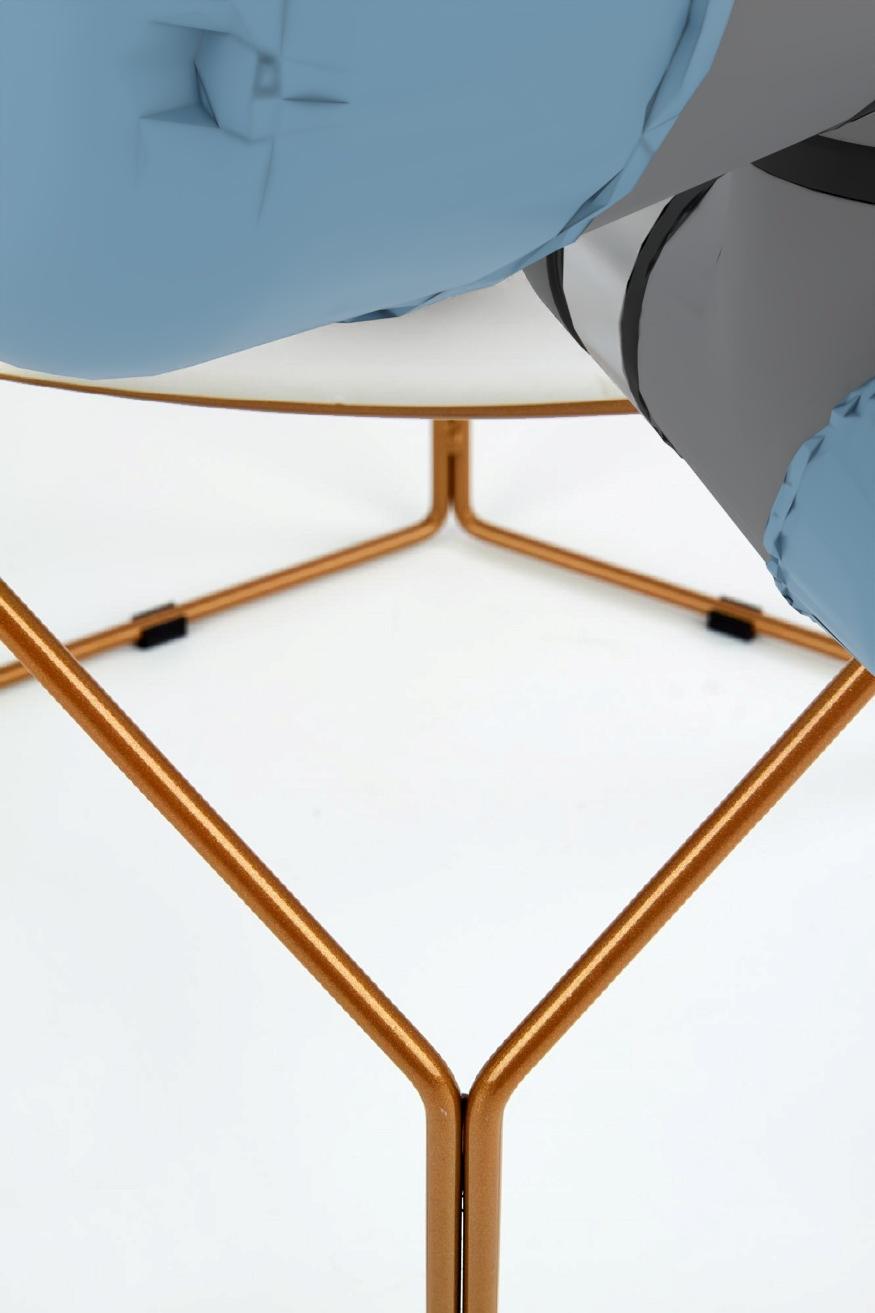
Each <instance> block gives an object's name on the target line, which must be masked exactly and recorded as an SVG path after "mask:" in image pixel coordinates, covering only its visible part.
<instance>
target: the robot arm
mask: <svg viewBox="0 0 875 1313" xmlns="http://www.w3.org/2000/svg"><path fill="white" fill-rule="evenodd" d="M520 271H522V272H523V274H524V276H525V277H526V278H525V279H526V280H527V282H528V283H529V285H530V286H531V288H532V290H533V291H534V293H535V294H536V295H537V297H538V298H539V300H540V301H541V302H542V303H543V305H544V306H545V307H546V308H547V309H548V310H549V311H550V313H551V314H552V315H553V316H554V317H555V318H556V320H557V321H558V322H559V323H560V324H561V325H562V326H563V328H564V329H565V330H566V331H567V333H568V334H569V335H570V336H571V337H572V338H573V340H575V342H576V343H577V344H578V345H579V346H580V348H581V349H583V350H584V351H585V352H586V353H587V354H588V355H589V356H590V357H591V358H592V360H594V362H595V363H596V364H597V366H599V367H600V369H601V370H602V371H603V372H604V373H605V374H606V376H607V377H608V378H609V379H610V380H611V382H612V383H614V385H615V386H616V387H617V388H618V389H619V390H620V392H621V393H622V394H623V395H624V396H625V398H627V400H628V401H629V403H631V404H632V406H633V407H634V408H635V409H636V410H637V411H638V413H639V414H640V415H641V416H642V417H643V418H644V419H645V421H646V422H647V423H648V424H649V425H650V427H652V428H653V430H654V431H655V432H656V433H657V434H658V436H659V438H660V439H661V440H662V441H663V443H664V444H666V445H667V446H668V447H670V448H671V449H672V450H673V451H674V452H675V454H677V456H679V458H680V459H682V460H684V461H685V463H686V465H688V466H689V468H690V469H691V470H692V472H693V473H694V474H695V475H696V476H697V477H698V479H699V481H700V482H701V483H702V484H703V485H704V486H705V488H706V489H707V491H708V492H709V493H710V494H711V496H712V497H713V498H714V499H715V501H716V502H717V503H718V504H719V506H720V507H721V508H722V510H723V511H724V512H725V513H726V514H727V516H728V517H729V518H730V519H731V521H732V522H733V524H734V525H735V526H736V527H737V529H738V530H739V531H740V533H741V534H742V535H743V536H744V537H745V539H746V540H747V541H748V543H749V544H750V545H751V546H752V547H753V549H754V550H755V551H756V553H757V554H758V555H759V556H760V558H761V559H762V560H763V561H764V564H765V566H766V570H767V571H768V572H769V573H770V575H771V576H772V578H773V581H774V582H773V583H774V585H775V587H776V589H777V590H778V592H779V594H781V596H782V597H783V599H785V601H786V602H787V604H788V605H789V606H791V607H792V608H793V609H794V610H795V611H796V612H798V614H799V615H801V616H804V617H808V618H809V619H810V620H811V621H812V623H815V624H817V625H818V626H819V627H821V629H822V630H824V631H825V632H826V633H827V634H828V635H829V636H830V637H831V638H832V639H833V640H835V642H837V643H838V644H839V645H840V646H841V647H842V648H843V649H844V650H845V651H847V652H848V654H850V655H851V656H852V657H853V658H855V660H856V661H857V662H858V663H859V664H860V665H862V667H863V668H864V669H866V670H867V671H868V672H869V673H870V674H871V676H873V677H875V0H0V362H1V363H5V364H7V365H9V366H12V367H15V368H17V369H23V370H28V371H32V372H33V371H34V372H39V373H44V374H49V375H53V376H61V377H67V378H73V379H74V378H75V379H82V380H89V381H104V380H116V379H130V378H133V379H134V378H145V377H146V378H147V377H155V376H160V375H163V374H167V373H172V372H175V371H179V370H183V369H187V368H190V367H194V366H197V365H198V366H199V365H201V364H204V363H207V362H211V361H213V360H217V359H220V358H223V357H227V356H230V355H233V354H237V353H239V352H242V351H243V352H244V351H247V350H251V349H253V348H256V347H259V346H263V345H266V344H270V343H273V342H276V341H279V340H282V339H286V338H289V337H291V336H295V335H298V334H302V333H305V332H308V331H312V330H314V329H315V330H316V329H318V328H321V327H326V326H328V325H332V324H354V323H355V324H356V323H364V322H370V321H379V320H385V319H393V318H400V317H402V316H405V315H408V314H410V313H412V312H415V311H417V310H420V309H423V308H425V307H428V306H430V305H433V304H437V303H439V302H440V301H443V300H445V299H448V298H451V297H452V298H453V297H455V296H460V295H463V294H467V293H471V292H475V291H478V290H482V289H487V288H490V287H493V286H496V285H497V284H499V283H501V282H502V281H504V280H506V279H508V278H510V277H511V276H514V275H515V274H517V273H518V272H520Z"/></svg>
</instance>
